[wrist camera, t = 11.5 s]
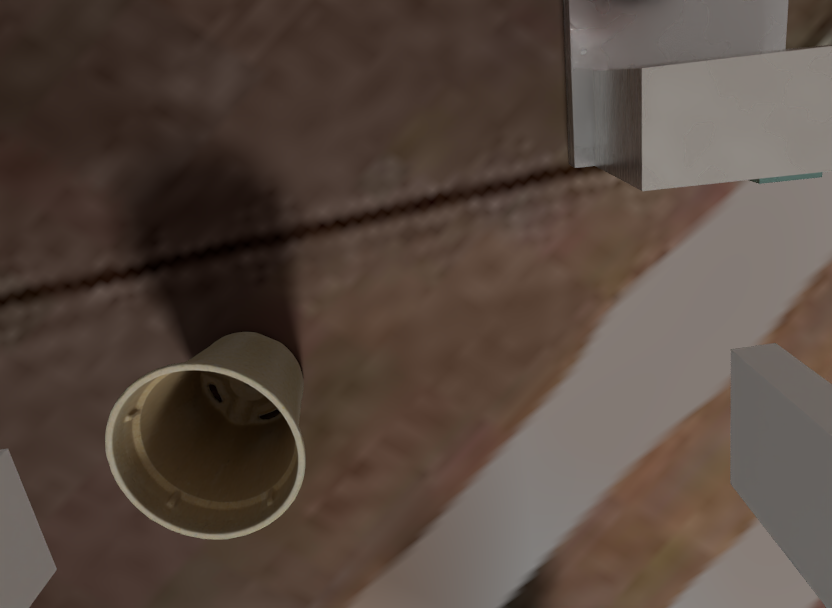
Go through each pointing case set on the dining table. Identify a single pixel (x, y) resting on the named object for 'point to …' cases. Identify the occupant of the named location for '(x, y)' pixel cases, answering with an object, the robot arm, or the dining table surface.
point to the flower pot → (212, 439)
